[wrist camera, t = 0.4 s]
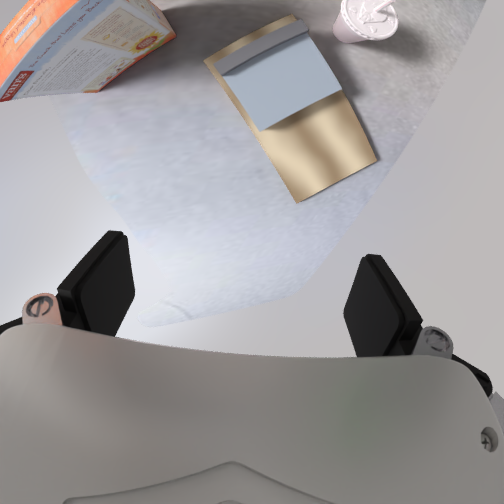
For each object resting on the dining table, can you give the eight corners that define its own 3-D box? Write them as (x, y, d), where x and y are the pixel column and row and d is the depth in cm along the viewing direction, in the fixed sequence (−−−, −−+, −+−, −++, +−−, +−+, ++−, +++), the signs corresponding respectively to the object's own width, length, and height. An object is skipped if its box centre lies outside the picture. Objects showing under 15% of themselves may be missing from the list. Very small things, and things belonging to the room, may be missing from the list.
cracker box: (160, 8, 25) (82, -52, 7) (178, 37, 28) (103, -15, 10) (82, 65, 28) (-25, 64, 10) (96, 94, 31) (-12, 107, 13)
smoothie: (376, 37, 27) (429, 15, 14) (347, 60, 29) (393, 42, 17) (343, 4, 25) (383, -34, 12) (312, 27, 27) (342, -9, 15)
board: (290, 16, 26) (293, 9, 24) (373, 158, 36) (382, 163, 33) (204, 61, 30) (200, 58, 27) (295, 200, 39) (298, 208, 37)
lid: (295, 28, 26) (301, 18, 22) (335, 89, 30) (346, 88, 26) (218, 69, 29) (212, 64, 25) (259, 129, 33) (259, 133, 29)
